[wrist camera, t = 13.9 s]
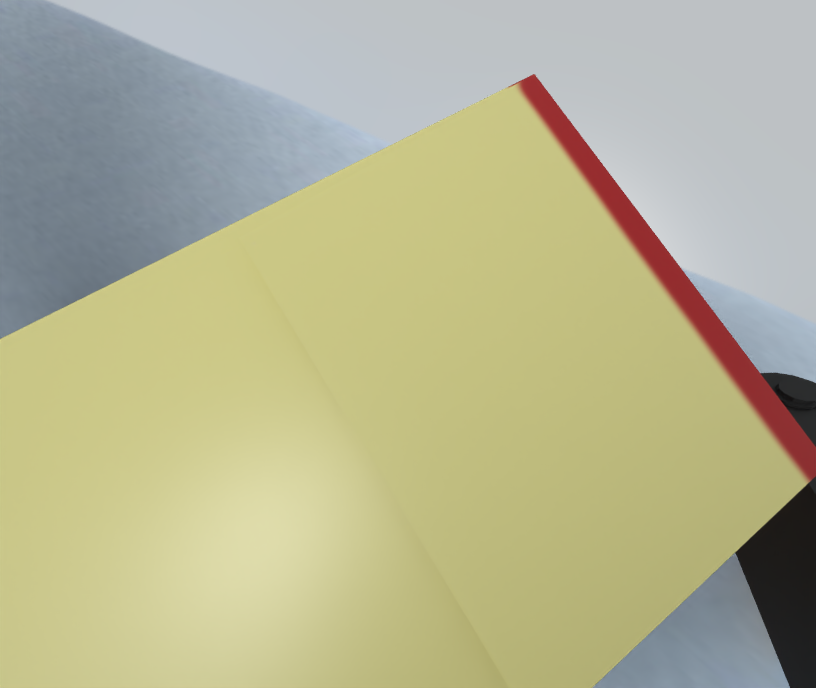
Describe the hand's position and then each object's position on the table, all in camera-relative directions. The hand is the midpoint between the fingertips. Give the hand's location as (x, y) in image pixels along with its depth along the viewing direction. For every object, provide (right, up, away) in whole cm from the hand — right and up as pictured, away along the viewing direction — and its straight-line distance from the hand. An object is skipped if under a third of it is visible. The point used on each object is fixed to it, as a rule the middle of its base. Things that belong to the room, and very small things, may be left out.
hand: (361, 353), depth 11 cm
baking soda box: (0, -3, +8) cm, 9 cm away
